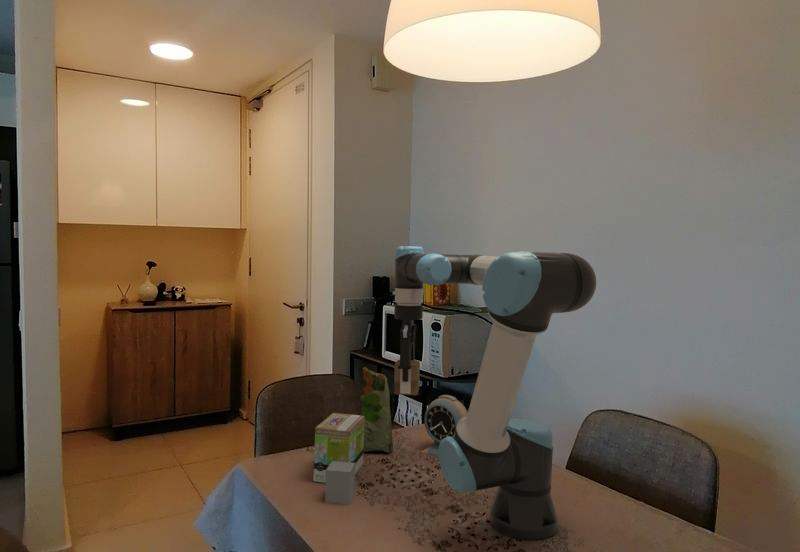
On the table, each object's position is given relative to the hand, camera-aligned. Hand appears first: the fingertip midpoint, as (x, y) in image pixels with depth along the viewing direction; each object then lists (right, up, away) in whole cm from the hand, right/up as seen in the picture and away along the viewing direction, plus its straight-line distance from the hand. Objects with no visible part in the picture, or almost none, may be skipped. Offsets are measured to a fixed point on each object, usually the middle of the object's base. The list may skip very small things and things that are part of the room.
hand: (406, 390), depth 151 cm
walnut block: (0, 0, 0) cm, 0 cm away
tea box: (-19, -24, +4) cm, 30 cm away
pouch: (-10, -23, +23) cm, 34 cm away
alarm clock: (+12, -24, +22) cm, 34 cm away
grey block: (-17, -24, -12) cm, 32 cm away
